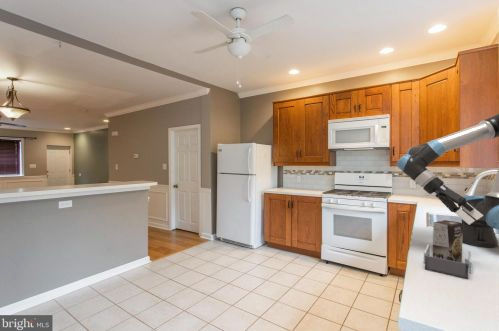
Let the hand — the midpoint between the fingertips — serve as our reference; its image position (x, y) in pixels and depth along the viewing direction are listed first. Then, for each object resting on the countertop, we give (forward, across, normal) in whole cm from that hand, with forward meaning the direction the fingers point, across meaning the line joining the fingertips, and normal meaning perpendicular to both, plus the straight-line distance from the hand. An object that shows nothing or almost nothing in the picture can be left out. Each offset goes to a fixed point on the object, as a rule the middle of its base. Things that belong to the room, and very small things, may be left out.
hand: (475, 220), depth 102 cm
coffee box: (+6, +3, -20) cm, 21 cm away
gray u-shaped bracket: (+6, +5, -21) cm, 22 cm away
